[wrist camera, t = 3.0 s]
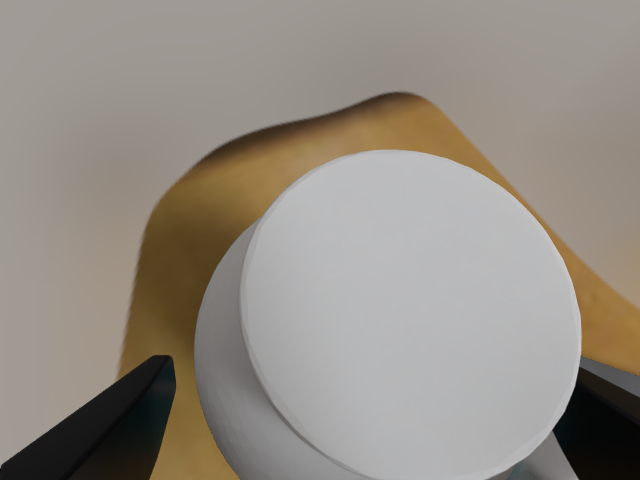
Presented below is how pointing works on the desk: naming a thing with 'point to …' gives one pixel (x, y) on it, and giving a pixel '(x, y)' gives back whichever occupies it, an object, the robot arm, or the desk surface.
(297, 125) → the desk surface
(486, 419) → the pill bottle
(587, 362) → the flange plate
